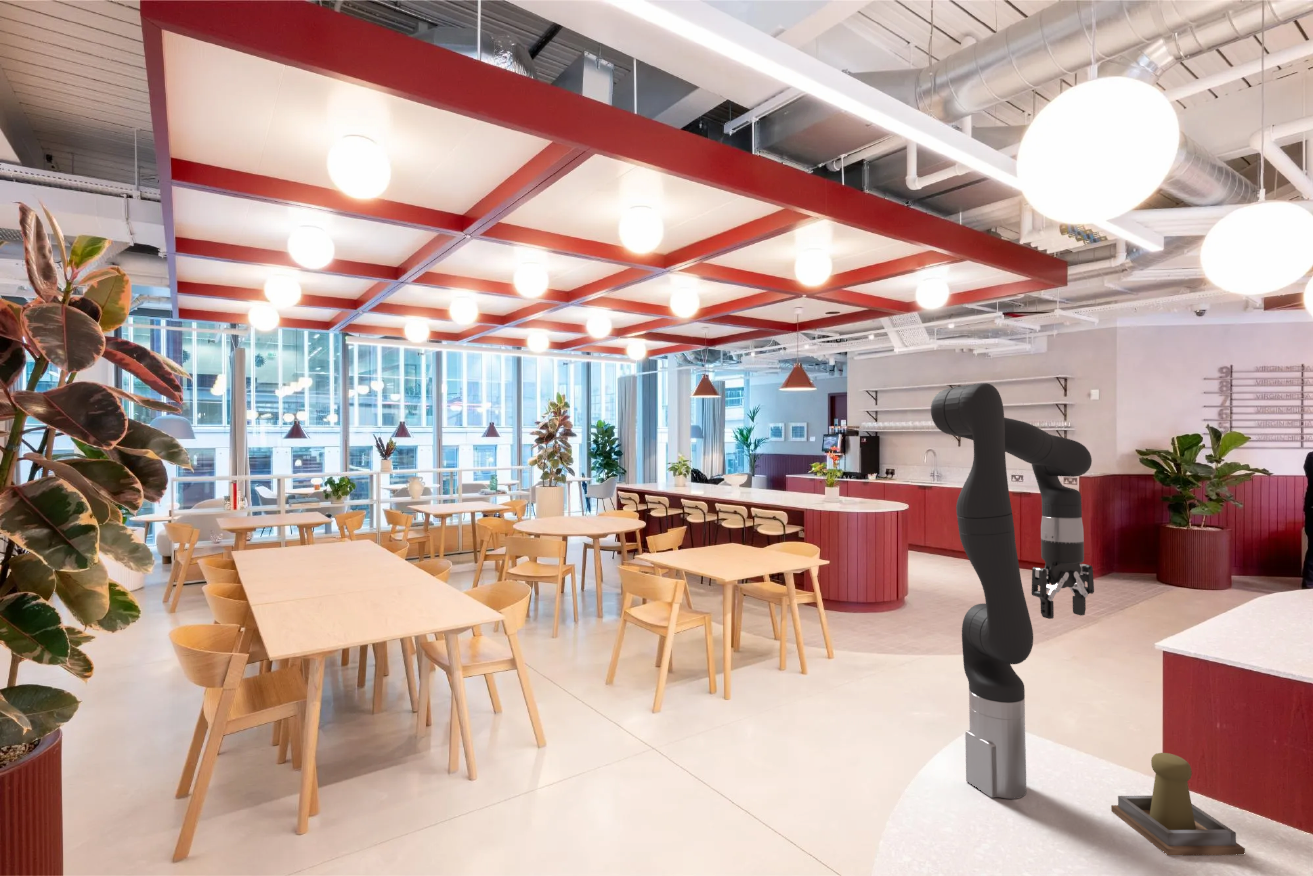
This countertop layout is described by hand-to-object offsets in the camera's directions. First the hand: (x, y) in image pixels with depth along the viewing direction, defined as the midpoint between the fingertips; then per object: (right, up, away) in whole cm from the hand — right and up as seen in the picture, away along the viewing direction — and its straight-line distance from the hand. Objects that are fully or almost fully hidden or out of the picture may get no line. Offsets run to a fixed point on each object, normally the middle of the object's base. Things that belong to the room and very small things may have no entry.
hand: (1063, 616), depth 131 cm
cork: (0, -27, -27) cm, 38 cm away
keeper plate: (0, -28, -28) cm, 39 cm away
